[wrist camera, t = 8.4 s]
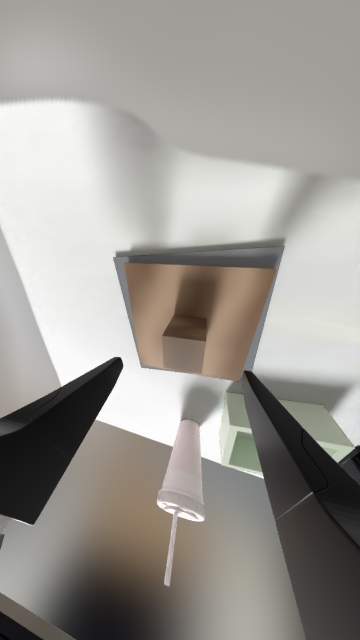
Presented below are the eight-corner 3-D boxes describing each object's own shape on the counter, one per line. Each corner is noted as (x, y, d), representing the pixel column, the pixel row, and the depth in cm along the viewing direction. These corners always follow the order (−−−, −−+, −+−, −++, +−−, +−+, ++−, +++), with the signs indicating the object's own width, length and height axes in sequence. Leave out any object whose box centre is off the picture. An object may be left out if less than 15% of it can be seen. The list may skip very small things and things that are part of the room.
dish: (321, 403, 17) (355, 447, 13) (291, 445, 22) (309, 486, 19) (225, 390, 19) (229, 424, 16) (219, 431, 25) (221, 465, 21)
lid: (272, 268, 11) (312, 277, 7) (237, 376, 17) (246, 417, 13) (128, 262, 13) (90, 266, 9) (142, 360, 19) (124, 390, 15)
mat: (282, 246, 10) (284, 246, 10) (248, 377, 17) (249, 380, 17) (115, 257, 13) (113, 257, 13) (142, 365, 20) (141, 367, 20)
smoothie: (167, 415, 25) (129, 569, 13) (198, 414, 23) (187, 597, 11) (181, 434, 27) (160, 580, 15) (211, 434, 25) (214, 606, 13)
